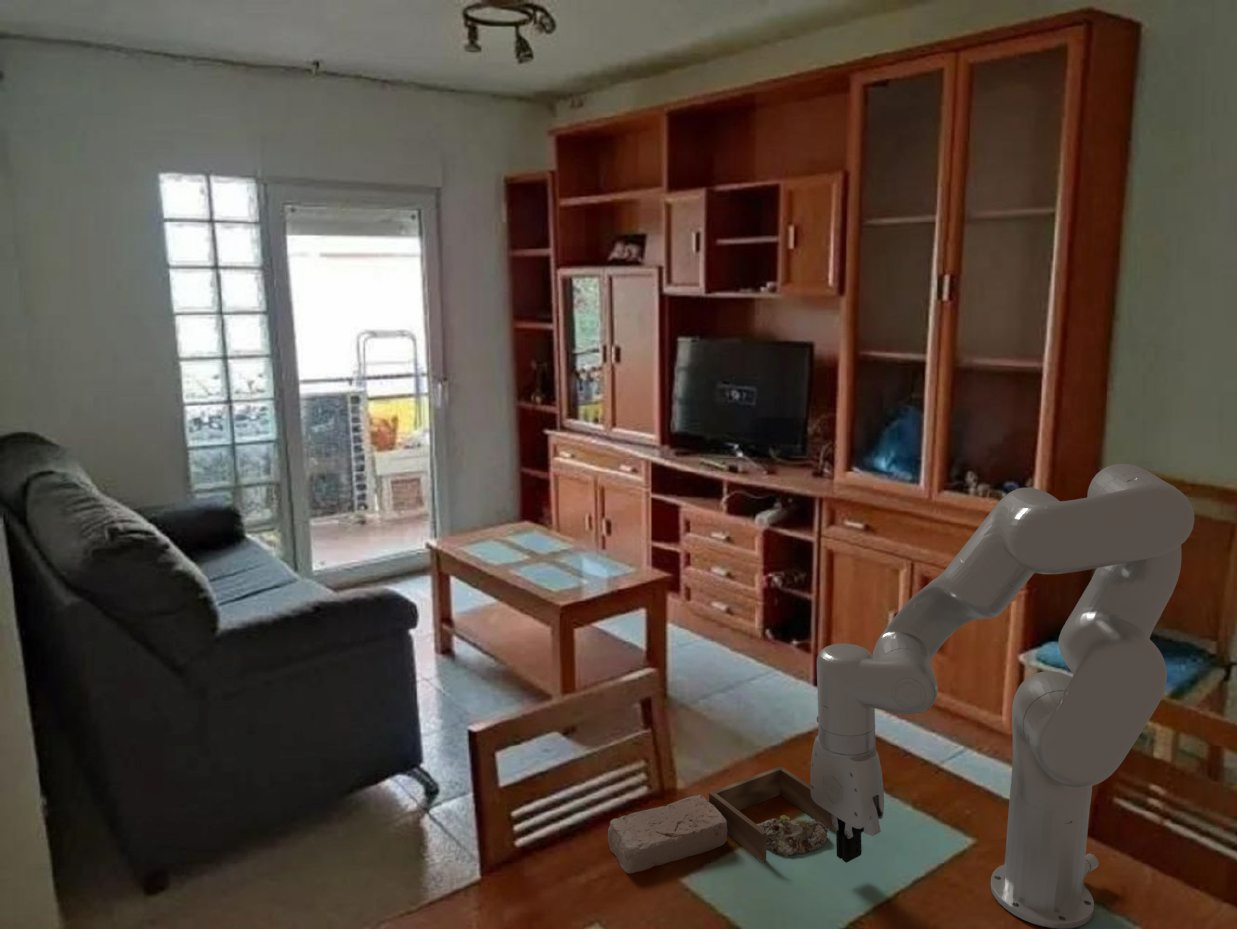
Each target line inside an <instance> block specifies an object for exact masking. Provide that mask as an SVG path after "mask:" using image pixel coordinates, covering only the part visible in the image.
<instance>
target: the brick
mask: <svg viewBox="0 0 1237 929" xmlns="http://www.w3.org/2000/svg"><path fill="white" fill-rule="evenodd" d="M727 832H728V829H727V821H726V819H725V818H724V817H723V816H722V814H721V813H720V812H719V811H718V810H717V809H716V808H715V806H714V805H712V804H711V803H710V802H709V800H707V799H706V798H705V797H704V796H703V795H702V794H698V795H692V796H688V797H685V798H682V799H680V800H676V801H674V802H671V803H669V804H667V805H662V806H658V807H654V808H649V809H646V810H645V809H644V810H641V811H637V812H632V813H629V814H628V815H622V816H619V817H618V818H613V819H611V820H610V821H609V827H608V830H607V843H608V846H609V850H610V851H611V852H612V853H613V855H614V856H615V857H616V859H617V861H618V863H619V865H620V867H621V868H622V870H623V871H624V872H625V873H627V874H629V875H630V874H634V873H638V872H643V871H646V870H648V869H651V868H653V867H655V866H661V865H665V864H668V863H671V862H674V861H679V860H682V859H685V858H688V857H693V856H696V855H699V854H703V853H706V852H709V851H712V850H714V849H716V848H719V847H722V846H723V845H725V843H726V842H727V839H728V834H727Z"/></svg>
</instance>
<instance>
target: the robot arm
mask: <svg viewBox="0 0 1237 929" xmlns="http://www.w3.org/2000/svg"><path fill="white" fill-rule="evenodd" d="M1194 524H1195V511H1194V508H1193V506H1192V503H1191V501H1190V500H1189V498H1188V497H1187V496H1186V495H1185V494H1184V493H1183V492H1182V491H1181V490H1180V489H1178V488H1176V486H1174V485H1173V484H1171V483H1169V482H1166V481H1165V480H1163V479H1161V477H1158V476H1157V475H1156V474H1153V473H1152V472H1150V471H1149V470H1147V469H1144V468H1142V467H1140V466H1137V465H1133V464H1128V463H1116V464H1115V463H1114V464H1111V465H1107V466H1106V467H1104V468H1102V469H1101V470H1100V471H1099V472H1097V473H1096V474H1095V476H1094V477H1093V478H1092V479H1091V482H1090V483H1089V486H1088V489H1087V497H1084V498H1082V497H1081V498H1077V499H1071V500H1070V499H1069V500H1062V501H1060V500H1059V499H1058V498H1056V497H1055V496H1053V495H1051V494H1050V493H1048V492H1046V491H1044V490H1041V489H1039V488H1035V487H1020V488H1016V489H1014V490H1012V491H1011V490H1010V491H1009V492H1008V493H1007V494H1006V495H1004V496H1003V497H1002V498H1001V499H1000V501H998V503H997V504H996V505H995V506H994V507H993V508H992V510H991V511H990V512H989V514H988V515H987V516H986V517H985V519H984V520H983V521H982V523H981V524H980V525H979V526H978V527H977V529H976V530H975V531H974V532H973V534H972V535H971V537H970V538H969V539H968V540H967V542H966V543H965V544H964V545H963V546H962V548H961V549H960V551H959V552H958V553H957V554H956V555H955V557H954V558H953V559H952V560H951V561H950V563H949V564H948V566H946V568H945V569H944V570H943V571H942V572H941V574H939V576H937V577H936V578H933V579H932V580H931V581H930V582H929V583H928V584H927V585H925V586H923V588H921V589H920V590H919V591H918V592H917V593H915V594H914V595H913V596H912V597H911V598H910V599H909V600H908V601H907V602H906V603H905V604H904V605H903V606H902V607H901V609H900V610H899V612H897V614H896V615H895V616H894V617H893V619H892V620H891V622H890V623H889V624H888V626H886V628H885V630H884V631H883V632H882V633H881V634H880V636H879V638H878V640H877V642H875V646H874V648H873V651H872V652H873V653H872V654H871V652H870V651H869V650H868V649H867V648H865V647H863V646H860V645H857V644H854V643H853V644H852V643H834V644H831V645H827V646H825V647H824V648H822V649H821V650H820V651H819V653H818V655H817V657H816V680H817V682H816V684H817V717H816V723H817V726H818V728H817V729H818V734H817V736H815V737H814V738H815V739H814V742H813V746H812V752H811V758H810V760H811V761H810V773H809V775H810V780H809V781H810V782H809V783H810V784H809V785H810V791H811V797H812V799H813V801H814V802H815V803H816V804H817V805H819V806H820V807H822V808H823V809H825V810H826V811H828V812H829V814H830V816H831V818H832V825H833V828H834V829H835V831H836V832H835V837H836V839H835V840H836V844H835V845H836V857H837V858H838V859H839V860H841V859H842V861H843V862H845V863H846V864H847V863H849V862H851V861H853V860H855V859H857V858H858V857H860V856H861V855H862V833H863V834H866V835H868V836H871V837H874V836H875V835H878V834H880V833H881V830H882V829H881V825H880V820H882V819H883V817H884V811H885V797H884V796H885V795H884V791H885V790H884V780H883V772H882V767H881V762H880V755H879V752H878V750H877V749H876V711H875V710H876V709H877V710H882V711H887V712H890V713H895V714H900V715H916V714H922V713H924V712H926V711H928V710H929V709H930V708H931V707H932V706H933V705H934V704H935V702H936V699H937V697H938V694H939V692H938V691H939V688H938V681H937V677H936V674H935V672H934V669H933V664H932V662H931V659H933V657H934V656H935V655H936V653H937V652H938V651H939V650H940V648H941V647H942V645H944V643H945V642H946V641H947V640H948V639H949V637H950V636H952V635H953V634H954V633H955V632H956V631H957V630H958V629H959V628H961V627H963V626H964V625H965V624H967V623H969V622H972V621H977V620H987V619H988V620H989V619H993V618H997V617H998V616H1000V615H1001V614H1002V613H1003V612H1004V611H1005V609H1006V608H1007V607H1008V606H1009V605H1010V604H1011V603H1012V601H1013V600H1014V599H1015V598H1016V596H1017V594H1019V592H1020V591H1021V590H1022V589H1023V588H1024V586H1025V585H1026V584H1027V582H1028V581H1029V580H1030V579H1031V578H1032V576H1034V574H1041V575H1059V574H1060V575H1061V574H1069V573H1077V572H1082V571H1083V572H1084V571H1088V570H1093V569H1095V571H1094V573H1093V575H1092V577H1091V580H1090V581H1089V583H1088V585H1087V586H1086V587H1085V589H1084V591H1083V593H1082V595H1081V597H1080V598H1079V599H1078V602H1077V603H1076V605H1075V607H1074V609H1073V610H1072V611H1071V613H1070V615H1069V616H1068V618H1067V620H1066V621H1065V624H1064V625H1063V627H1062V629H1061V630H1060V634H1059V636H1058V650H1059V652H1060V655H1061V657H1062V659H1063V661H1064V663H1065V664H1066V666H1067V667H1068V669H1069V670H1070V672H1071V673H1072V676H1070V675H1068V674H1066V673H1063V672H1060V671H1052V670H1047V671H1041V672H1037V673H1034V674H1032V675H1030V676H1028V677H1027V678H1026V679H1025V680H1023V682H1021V683H1020V685H1019V686H1018V688H1017V689H1016V691H1015V694H1014V696H1013V701H1012V707H1011V725H1012V728H1011V730H1012V761H1011V762H1012V764H1011V776H1010V777H1011V779H1010V780H1011V781H1010V789H1009V790H1010V791H1009V801H1008V804H1009V805H1008V815H1007V816H1008V817H1007V828H1006V829H1007V830H1006V844H1005V855H1004V856H1005V857H1004V864H1002V865H999V866H998V867H996V868H995V870H994V871H993V872H992V874H991V877H990V890H991V893H992V895H993V897H994V898H995V899H996V900H997V902H998V904H999V905H1001V906H1002V907H1003V908H1004V909H1005V910H1006V911H1008V912H1009V913H1011V914H1012V915H1014V916H1015V917H1016V918H1019V919H1021V920H1023V921H1025V922H1028V923H1030V924H1032V925H1033V924H1034V925H1037V926H1040V927H1044V928H1045V927H1046V928H1049V929H1075V928H1079V927H1081V926H1083V925H1085V924H1087V923H1088V922H1089V921H1090V920H1091V919H1092V917H1093V915H1094V909H1095V900H1094V899H1093V895H1092V894H1091V892H1090V891H1089V889H1088V888H1087V887H1086V885H1084V881H1085V878H1086V877H1087V874H1088V873H1089V872H1092V871H1093V870H1096V869H1097V868H1098V867H1099V864H1100V863H1099V860H1098V858H1097V857H1096V856H1095V855H1094V854H1093V853H1087V854H1086V851H1087V843H1088V842H1087V839H1088V833H1089V832H1088V830H1089V820H1090V819H1089V818H1090V811H1091V810H1090V808H1091V802H1092V793H1093V787H1094V786H1095V785H1096V786H1097V785H1098V784H1100V783H1102V782H1104V781H1106V779H1108V778H1109V777H1110V776H1112V775H1113V774H1114V773H1115V771H1117V769H1118V768H1119V767H1120V765H1121V764H1122V763H1123V762H1124V760H1125V758H1126V756H1127V755H1128V754H1129V752H1130V750H1131V749H1132V748H1133V746H1134V744H1135V743H1136V742H1137V740H1138V738H1139V736H1140V735H1141V734H1142V732H1143V730H1144V729H1145V727H1146V725H1147V724H1148V722H1149V720H1150V719H1151V718H1152V716H1153V714H1154V713H1155V711H1156V709H1157V708H1158V706H1159V704H1161V703H1160V702H1161V700H1162V699H1163V695H1164V693H1165V690H1166V685H1167V682H1168V681H1167V679H1168V671H1167V670H1168V669H1167V664H1166V661H1165V659H1164V657H1163V654H1162V652H1161V651H1160V649H1159V648H1158V647H1157V645H1156V644H1155V643H1154V642H1153V641H1152V640H1151V639H1150V638H1151V636H1152V633H1153V631H1154V628H1155V626H1156V625H1157V623H1158V622H1159V620H1160V618H1161V617H1162V614H1163V612H1164V610H1165V608H1166V606H1167V604H1168V603H1169V601H1170V598H1171V597H1172V596H1173V593H1174V590H1175V588H1176V585H1177V584H1178V580H1179V577H1180V573H1181V567H1182V544H1184V543H1185V542H1186V541H1187V539H1189V537H1190V535H1191V534H1192V531H1193V529H1194Z"/></svg>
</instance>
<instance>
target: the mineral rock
mask: <svg viewBox="0 0 1237 929" xmlns="http://www.w3.org/2000/svg"><path fill="white" fill-rule="evenodd" d="M756 825H758V826H759V827H760V828H762V829H763V830H764V831H765V832H767V844H766V850H769V851H771V852H774V853H777V854H780V855H782V856H783V857H789V856H790V855H791V856H792V855H795V854H796V855H797V854H798V855H802V854H805V853H809V852H811V851H814V850H819V848H822V844H825V843H826V842H827V839H828V832H829V831H828V830H829V829H827V828H826V827H825V826H824V825H823V824H822V823H819V822H818V821H816V820H814V821H813V820H812V821H811V820H808V819H799V818H798V819H791V817H790V816H788V815H786V814H783V815H780V816H779V819H778V818H777V817H776V818H775V817H773V818H769V819H766V820H765V821H763V822H760V823H756Z"/></svg>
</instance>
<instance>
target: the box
mask: <svg viewBox="0 0 1237 929" xmlns="http://www.w3.org/2000/svg"><path fill="white" fill-rule="evenodd" d="M777 796H781V797H782V798H784V799H785V800H786V801H788V802H790V804H792V805H794V806H795V807H797V808H798V809H800V810H801V811H802V812H804V813H805V814H806V815H807V816H809V817H811V818H812V819H814V821H816V822H819V823H822V824H823V825H824V826H825V829H827V830H830V831H831V832H834V831H836V830H835V829H834V828H833V825H832V818H831V816H830V814H829V812H828V811H826V810H825V809H823V808H822V807H820V806H819V805H817V804H816V803H815V802H814V801H813V799H812V797H811V791H810V784H809V783H808V782H806V781H804V780H803V779H802V778H799V777H798V776H797V775H795V774H793V773H792V772H790V771H789V770H787V769H786V768H785V767H783V766H781V765H780V766H778V767H775V768H771V769H769V770H767V771H766V770H765V771H764V772H761V773H758V774H755V775H753V776H750V777H747V778H745V779H742V780H740V781H739V780H738V781H737V782H734V783H731V784H729V785H725V786H723V787H721V788H717V789H715V790H712V791H710V792H708V802H710V803H711V804H712V805H714V806H715V808H716V809H717V810H718V811H719V812H720V813H721V814H722V816H723V817H724V818H725V819H726V821H727V829H728V832H727V836H729V837H730V838H731V839H733V841H735V842H737V843H738V844H739V845H741V847H742V848H744V849H745V850H746V851H748V852H749V853H750V854H751V855H752V856H754V857H755V858H756V859H758V860H759V861H760V862H761V863H764V862H766V861H767V849H766V844H767V832H765V831H764V830H763V829H762V828H760V827H759V826H758V825H757V823H755V822H754V821H752V820H751V819H750V818H748V817H747V816H746V815H745V814H743V813H742V812H741V811H742V810H744V809H748V808H750V807H752V806H754V805H758V804H759V803H763V802H765V801H767V800H770V799H773V798H776V797H777Z"/></svg>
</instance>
